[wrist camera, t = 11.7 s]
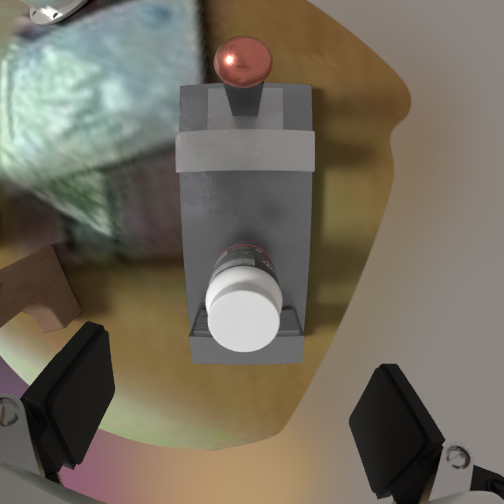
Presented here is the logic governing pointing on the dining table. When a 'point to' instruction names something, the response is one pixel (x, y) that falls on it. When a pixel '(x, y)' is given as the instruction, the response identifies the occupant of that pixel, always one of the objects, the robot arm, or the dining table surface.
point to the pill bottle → (244, 299)
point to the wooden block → (38, 291)
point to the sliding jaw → (245, 119)
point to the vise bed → (247, 230)
